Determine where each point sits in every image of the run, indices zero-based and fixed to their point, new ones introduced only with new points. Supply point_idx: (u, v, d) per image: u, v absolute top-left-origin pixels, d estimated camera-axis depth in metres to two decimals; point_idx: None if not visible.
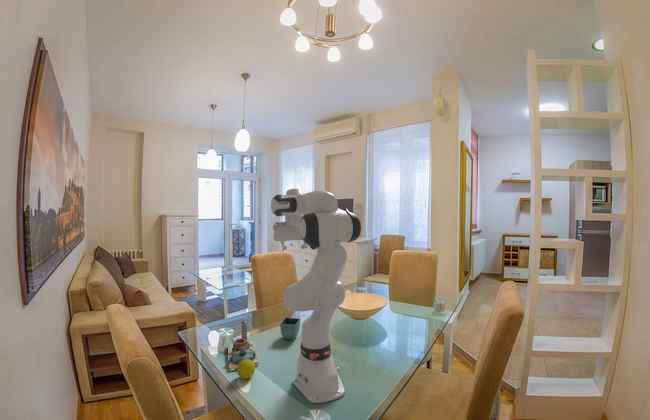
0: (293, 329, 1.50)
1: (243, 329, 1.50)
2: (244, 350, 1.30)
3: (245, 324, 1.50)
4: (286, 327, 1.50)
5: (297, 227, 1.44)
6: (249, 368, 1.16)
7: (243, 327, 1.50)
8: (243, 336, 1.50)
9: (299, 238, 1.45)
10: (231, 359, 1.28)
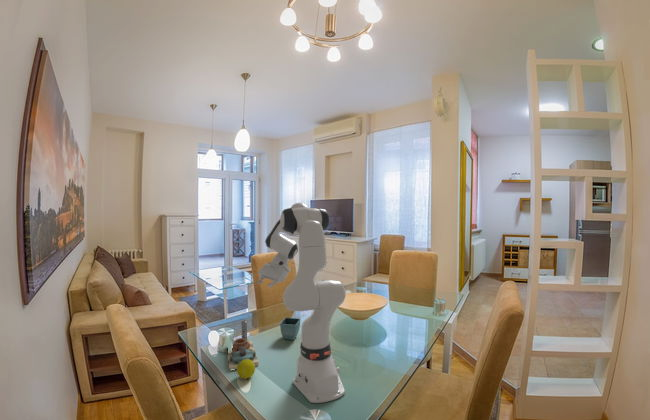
0: (293, 329, 1.50)
1: (243, 329, 1.50)
2: (244, 350, 1.30)
3: (245, 324, 1.50)
4: (286, 327, 1.50)
5: (273, 265, 1.63)
6: (249, 368, 1.16)
7: (243, 327, 1.50)
8: (243, 336, 1.50)
9: (270, 275, 1.60)
10: (231, 359, 1.28)
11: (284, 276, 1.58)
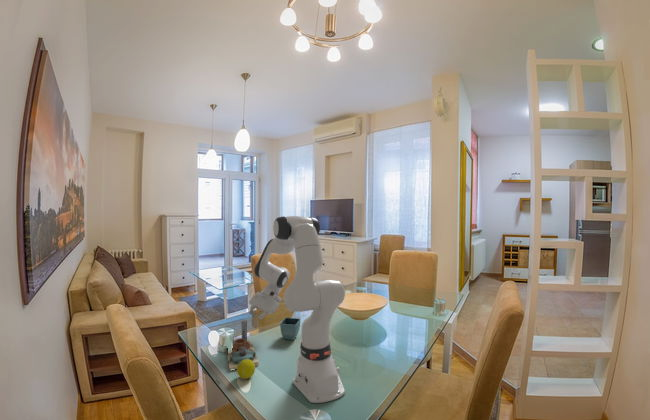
0: (293, 329, 1.50)
1: (243, 329, 1.50)
2: (244, 350, 1.30)
3: (245, 324, 1.50)
4: (286, 327, 1.50)
5: (264, 295, 1.59)
6: (249, 368, 1.16)
7: (243, 327, 1.50)
8: (243, 336, 1.50)
9: (261, 306, 1.56)
10: (231, 359, 1.28)
11: (275, 307, 1.54)
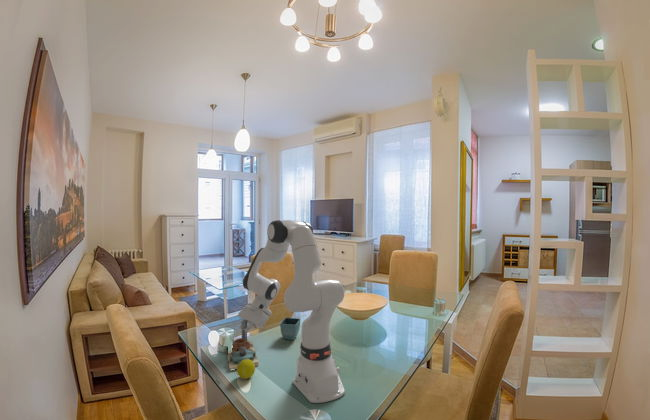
0: (293, 329, 1.50)
1: (243, 329, 1.50)
2: (244, 350, 1.30)
3: (245, 324, 1.50)
4: (286, 327, 1.50)
5: (253, 308, 1.54)
6: (249, 368, 1.16)
7: (243, 327, 1.50)
8: (243, 336, 1.50)
9: (250, 320, 1.51)
10: (231, 359, 1.28)
11: (264, 321, 1.49)
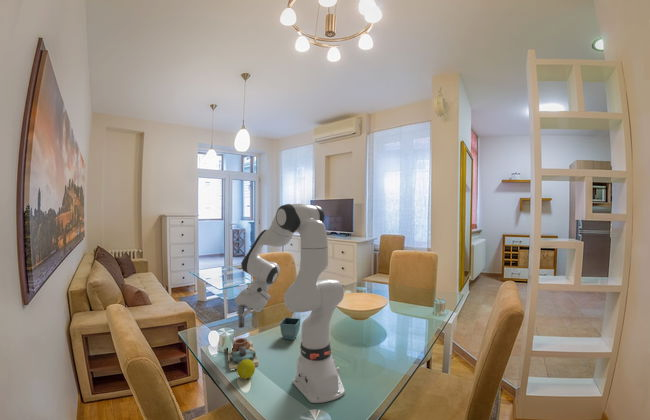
0: (293, 329, 1.50)
1: (240, 314, 1.40)
2: (244, 350, 1.30)
3: (242, 308, 1.40)
4: (286, 327, 1.50)
5: (251, 292, 1.44)
6: (249, 368, 1.16)
7: (240, 312, 1.40)
8: (240, 321, 1.40)
9: (247, 304, 1.41)
10: (231, 359, 1.28)
11: (262, 305, 1.38)
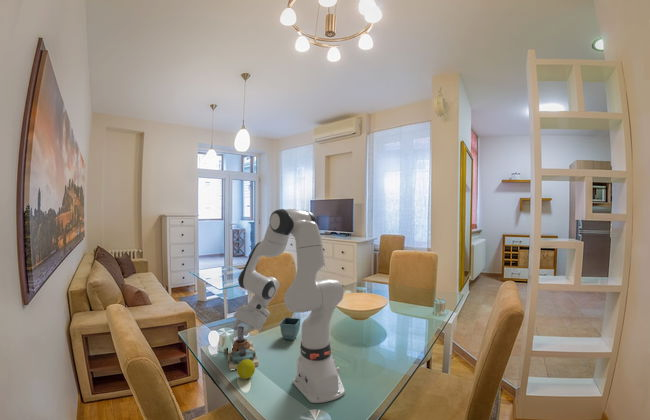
0: (293, 329, 1.50)
1: (239, 336, 1.39)
2: (244, 350, 1.30)
3: (241, 331, 1.39)
4: (286, 327, 1.50)
5: (250, 308, 1.43)
6: (249, 368, 1.16)
7: (239, 334, 1.39)
8: None
9: (246, 321, 1.40)
10: (231, 359, 1.28)
11: (262, 322, 1.37)
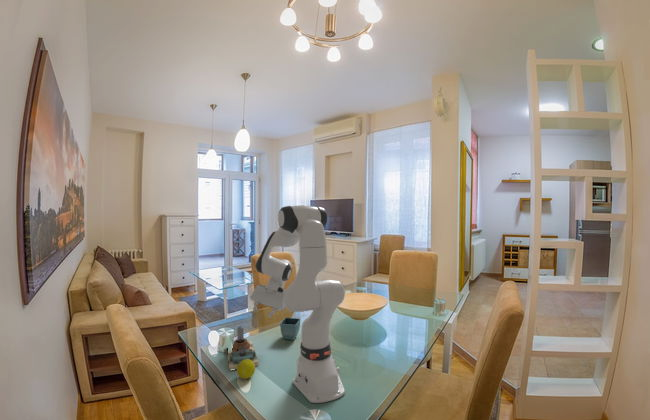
0: (293, 329, 1.50)
1: (239, 336, 1.39)
2: (244, 350, 1.30)
3: (241, 331, 1.39)
4: (286, 327, 1.50)
5: (270, 291, 1.51)
6: (249, 368, 1.16)
7: (239, 334, 1.39)
8: None
9: (268, 303, 1.49)
10: (231, 359, 1.28)
11: (285, 304, 1.49)
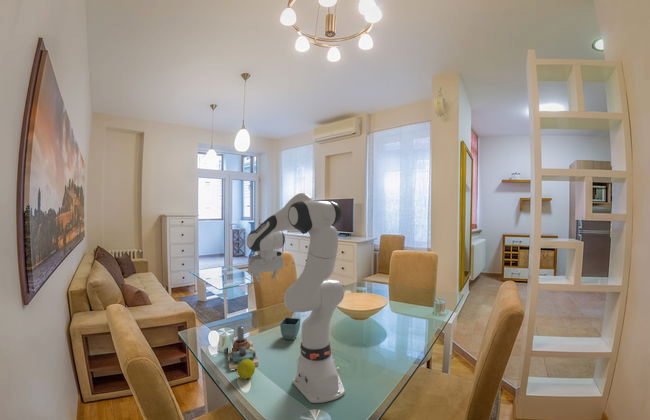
0: (293, 329, 1.50)
1: (239, 336, 1.39)
2: (244, 350, 1.30)
3: (241, 331, 1.39)
4: (286, 327, 1.50)
5: (271, 259, 1.51)
6: (249, 368, 1.16)
7: (239, 334, 1.39)
8: None
9: (271, 269, 1.53)
10: (231, 359, 1.28)
11: None
